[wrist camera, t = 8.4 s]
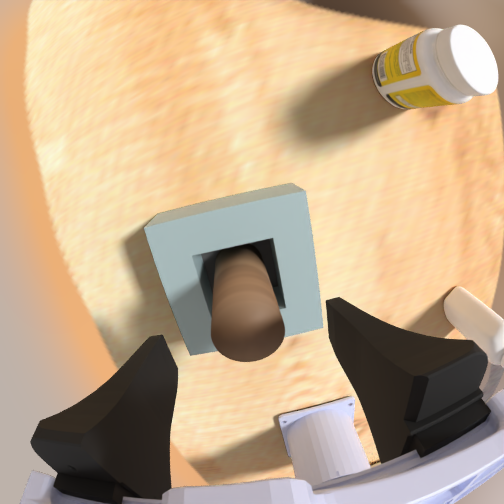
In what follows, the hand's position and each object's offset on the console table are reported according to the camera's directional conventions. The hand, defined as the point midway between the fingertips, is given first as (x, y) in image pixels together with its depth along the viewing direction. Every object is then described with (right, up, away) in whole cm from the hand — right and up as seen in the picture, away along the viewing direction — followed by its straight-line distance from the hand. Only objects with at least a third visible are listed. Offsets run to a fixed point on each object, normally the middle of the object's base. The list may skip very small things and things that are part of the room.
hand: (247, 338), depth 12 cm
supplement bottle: (+11, +16, +4) cm, 20 cm away
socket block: (-1, +3, +8) cm, 9 cm away
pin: (-1, +3, +8) cm, 8 cm away
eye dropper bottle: (+21, -2, +12) cm, 24 cm away
